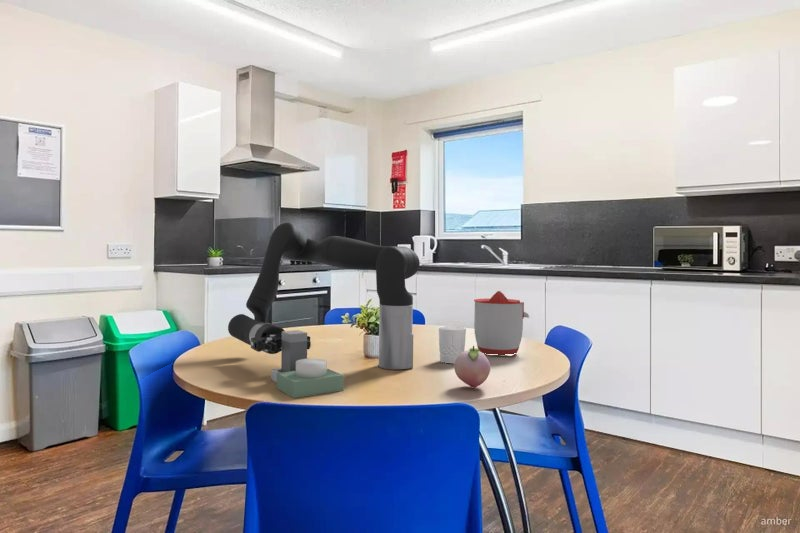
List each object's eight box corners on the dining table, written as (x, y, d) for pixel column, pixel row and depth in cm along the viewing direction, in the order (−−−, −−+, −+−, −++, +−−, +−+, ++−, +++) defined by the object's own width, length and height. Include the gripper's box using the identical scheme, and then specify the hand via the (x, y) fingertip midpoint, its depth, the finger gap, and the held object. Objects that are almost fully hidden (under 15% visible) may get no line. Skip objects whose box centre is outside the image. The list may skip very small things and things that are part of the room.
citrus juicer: (534, 359, 160) (535, 293, 160) (476, 358, 161) (477, 292, 160) (522, 349, 176) (523, 289, 175) (470, 348, 176) (471, 288, 176)
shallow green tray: (263, 380, 129) (263, 354, 129) (308, 374, 136) (309, 349, 136) (294, 398, 114) (294, 368, 114) (343, 390, 121) (343, 362, 121)
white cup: (469, 361, 156) (470, 327, 156) (457, 366, 149) (458, 330, 149) (445, 358, 160) (446, 325, 160) (433, 362, 153) (433, 328, 153)
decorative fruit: (452, 382, 130) (453, 342, 129) (486, 383, 129) (487, 342, 129) (455, 393, 120) (456, 349, 120) (491, 393, 120) (492, 349, 120)
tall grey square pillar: (281, 380, 130) (281, 331, 129) (297, 378, 132) (298, 330, 132) (289, 384, 126) (290, 334, 125) (306, 382, 128) (307, 332, 128)
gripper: (241, 325, 138) (264, 333, 125) (292, 321, 147) (319, 329, 133) (241, 354, 139) (264, 365, 125) (292, 349, 147) (318, 359, 134)
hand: (292, 346), depth 129 cm, fingers open, 8 cm apart
